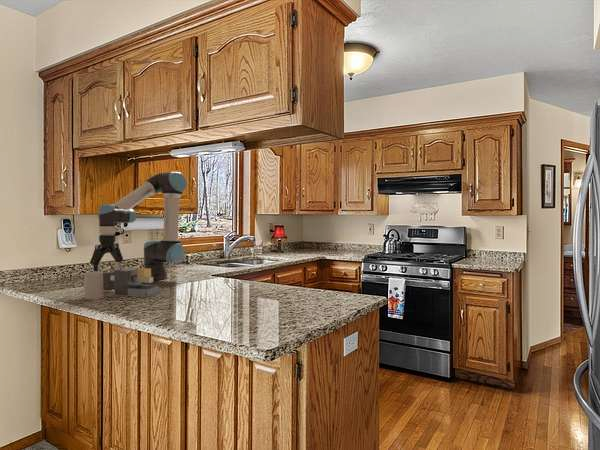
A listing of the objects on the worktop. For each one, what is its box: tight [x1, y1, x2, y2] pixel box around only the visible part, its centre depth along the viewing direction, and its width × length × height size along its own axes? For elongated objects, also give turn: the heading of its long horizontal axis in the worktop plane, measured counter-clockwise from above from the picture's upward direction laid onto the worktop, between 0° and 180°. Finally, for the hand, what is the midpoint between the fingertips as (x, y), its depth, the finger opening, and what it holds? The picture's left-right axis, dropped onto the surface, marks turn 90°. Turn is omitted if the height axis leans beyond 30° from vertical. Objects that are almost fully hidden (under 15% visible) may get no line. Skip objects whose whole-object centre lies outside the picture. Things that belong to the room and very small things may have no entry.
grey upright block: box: [83, 271, 104, 300], centre depth 203 cm, size 8×8×12 cm
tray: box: [127, 284, 161, 298], centre depth 211 cm, size 10×11×4 cm
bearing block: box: [113, 267, 142, 297], centre depth 214 cm, size 10×8×12 cm
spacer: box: [138, 267, 151, 278], centre depth 211 cm, size 5×4×4 cm
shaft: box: [102, 271, 154, 292], centre depth 214 cm, size 4×29×9 cm, turn 72°
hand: (107, 276), depth 218 cm, fingers open, 13 cm apart
